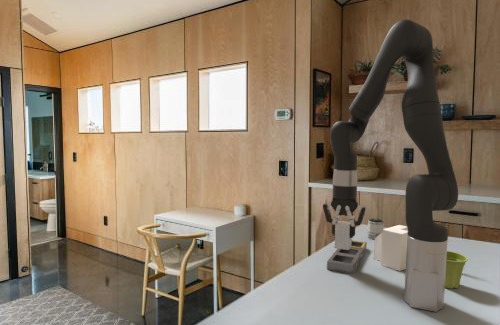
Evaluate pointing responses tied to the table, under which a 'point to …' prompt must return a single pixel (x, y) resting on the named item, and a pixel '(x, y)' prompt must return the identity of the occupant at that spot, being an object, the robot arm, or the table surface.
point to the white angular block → (392, 247)
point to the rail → (347, 258)
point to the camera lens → (375, 228)
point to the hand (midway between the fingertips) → (343, 236)
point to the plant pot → (454, 269)
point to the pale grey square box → (342, 235)
